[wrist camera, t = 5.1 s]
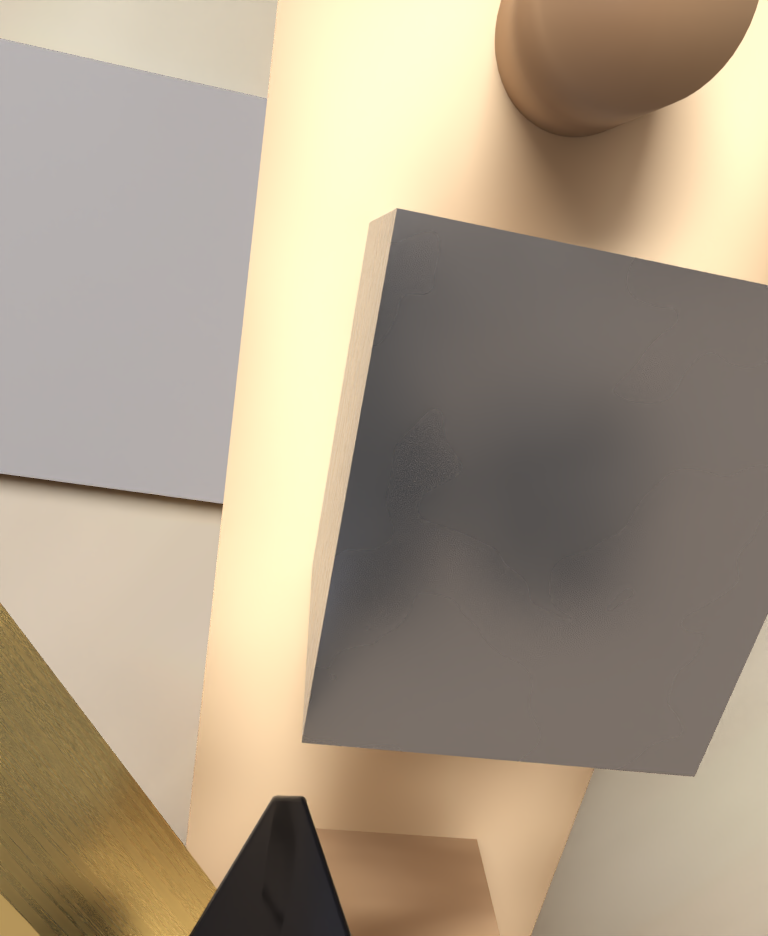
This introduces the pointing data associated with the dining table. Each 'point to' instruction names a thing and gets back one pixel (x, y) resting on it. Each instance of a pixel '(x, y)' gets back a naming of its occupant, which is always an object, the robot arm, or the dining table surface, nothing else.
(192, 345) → the pad
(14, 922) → the lever
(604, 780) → the dining table surface
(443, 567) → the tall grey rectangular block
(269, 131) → the body
